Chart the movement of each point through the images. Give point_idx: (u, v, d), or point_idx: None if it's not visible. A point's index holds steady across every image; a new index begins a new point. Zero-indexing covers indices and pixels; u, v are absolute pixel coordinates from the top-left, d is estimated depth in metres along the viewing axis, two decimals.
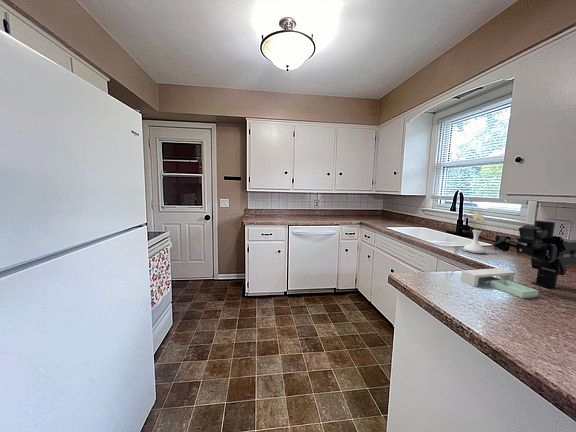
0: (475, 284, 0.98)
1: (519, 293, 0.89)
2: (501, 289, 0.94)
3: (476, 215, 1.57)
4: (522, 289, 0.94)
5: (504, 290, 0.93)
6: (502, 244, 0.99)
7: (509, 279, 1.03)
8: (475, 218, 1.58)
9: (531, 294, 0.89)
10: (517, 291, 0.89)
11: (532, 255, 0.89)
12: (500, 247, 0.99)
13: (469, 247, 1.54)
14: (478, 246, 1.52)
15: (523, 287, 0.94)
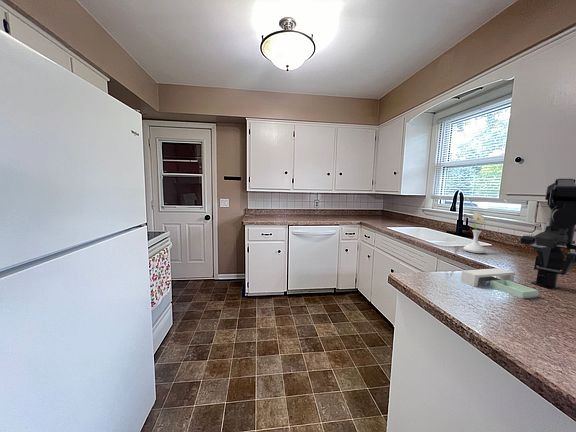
0: (475, 284, 0.98)
1: (519, 293, 0.89)
2: (501, 289, 0.94)
3: (476, 215, 1.57)
4: (522, 289, 0.94)
5: (504, 290, 0.93)
6: (545, 253, 0.85)
7: (509, 279, 1.03)
8: (475, 218, 1.58)
9: (531, 294, 0.89)
10: (517, 291, 0.89)
11: (575, 263, 0.79)
12: (547, 257, 0.85)
13: (469, 247, 1.54)
14: (478, 246, 1.52)
15: (523, 287, 0.94)
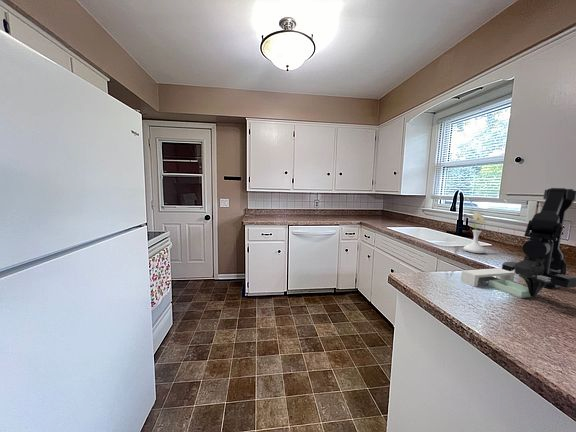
0: (475, 284, 0.98)
1: (518, 293, 0.89)
2: (500, 289, 0.95)
3: (476, 215, 1.56)
4: (521, 289, 0.94)
5: (503, 290, 0.94)
6: (533, 283, 0.88)
7: (509, 279, 1.03)
8: (475, 218, 1.58)
9: None
10: (515, 291, 0.90)
11: (541, 288, 0.87)
12: None
13: (469, 247, 1.54)
14: (478, 246, 1.52)
15: (522, 287, 0.94)
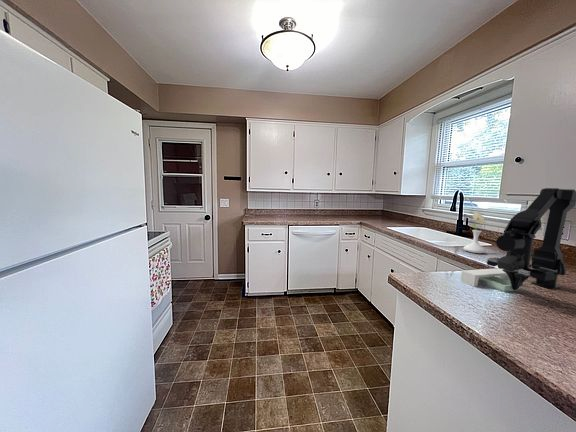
0: (475, 284, 0.98)
1: (501, 287, 0.94)
2: None
3: (476, 215, 1.56)
4: (505, 283, 0.99)
5: (488, 284, 0.99)
6: None
7: (509, 279, 1.03)
8: (475, 218, 1.58)
9: (512, 288, 0.94)
10: (499, 285, 0.95)
11: (523, 281, 0.92)
12: None
13: (469, 247, 1.54)
14: (478, 246, 1.52)
15: (506, 281, 0.99)
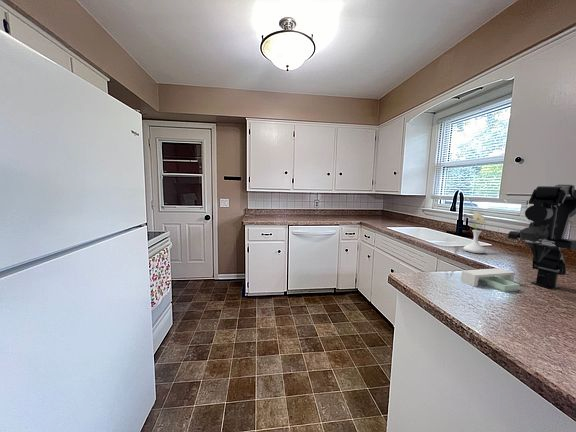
0: (475, 284, 0.98)
1: (501, 287, 0.94)
2: None
3: (476, 215, 1.56)
4: (505, 283, 0.99)
5: (488, 284, 0.99)
6: (537, 248, 0.92)
7: (509, 279, 1.03)
8: (475, 218, 1.58)
9: (512, 288, 0.94)
10: (499, 285, 0.95)
11: (546, 253, 0.91)
12: None
13: (469, 247, 1.54)
14: (478, 246, 1.52)
15: (506, 281, 0.99)
